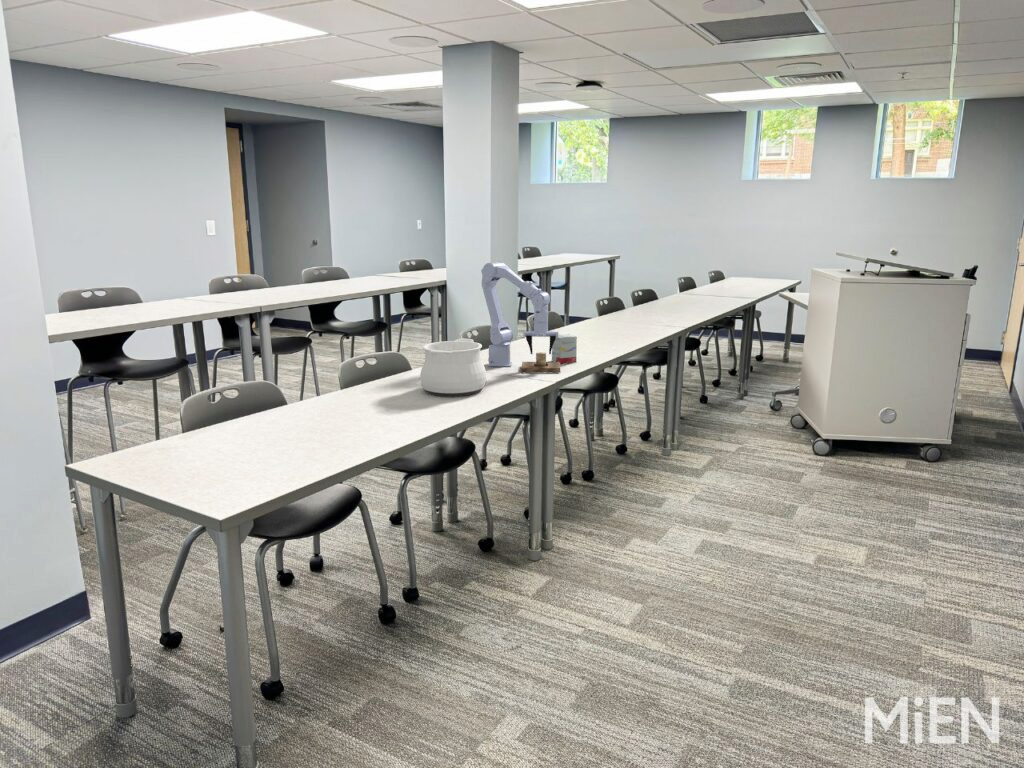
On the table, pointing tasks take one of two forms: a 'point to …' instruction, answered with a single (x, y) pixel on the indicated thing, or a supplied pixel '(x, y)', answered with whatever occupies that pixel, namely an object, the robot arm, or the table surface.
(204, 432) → the table surface
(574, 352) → the ink box
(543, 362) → the peg
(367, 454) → the table surface
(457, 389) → the pot
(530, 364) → the board
